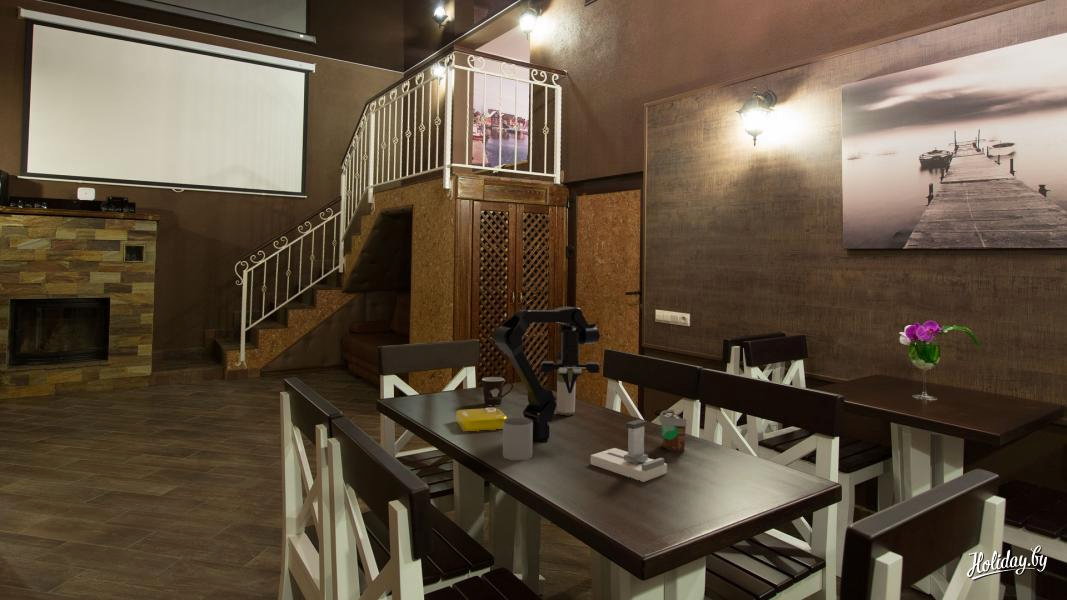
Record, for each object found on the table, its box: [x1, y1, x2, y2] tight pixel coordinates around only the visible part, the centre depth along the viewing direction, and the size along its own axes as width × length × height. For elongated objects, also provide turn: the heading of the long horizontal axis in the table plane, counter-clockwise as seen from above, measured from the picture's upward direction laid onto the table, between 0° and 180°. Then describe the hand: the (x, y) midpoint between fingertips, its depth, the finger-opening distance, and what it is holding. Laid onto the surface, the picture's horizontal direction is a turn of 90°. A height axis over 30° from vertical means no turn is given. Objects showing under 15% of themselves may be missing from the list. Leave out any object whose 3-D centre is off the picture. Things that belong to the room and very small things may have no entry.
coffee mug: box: [481, 376, 514, 407], centre depth 232 cm, size 12×9×10 cm
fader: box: [624, 418, 649, 464], centre depth 158 cm, size 4×6×10 cm
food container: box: [658, 409, 687, 452], centre depth 180 cm, size 12×6×10 cm, turn 5°
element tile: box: [456, 407, 508, 432], centre depth 203 cm, size 15×15×5 cm
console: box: [590, 447, 668, 483], centre depth 160 cm, size 18×10×4 cm, turn 42°
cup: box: [502, 417, 533, 461], centre depth 170 cm, size 8×8×10 cm
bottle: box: [556, 359, 577, 417], centre depth 218 cm, size 7×7×30 cm
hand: (569, 393), depth 194 cm, fingers closed
